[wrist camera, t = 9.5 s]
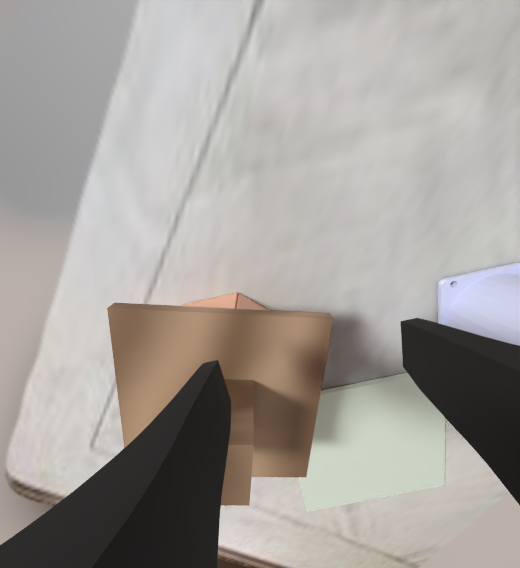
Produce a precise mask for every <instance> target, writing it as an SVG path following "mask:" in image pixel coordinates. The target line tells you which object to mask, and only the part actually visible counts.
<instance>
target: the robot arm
mask: <svg viewBox="0 0 520 568" xmlns="http://www.w3.org/2000/svg"><path fill="white" fill-rule="evenodd" d="M452 282H453V284H452V285H451V283H452ZM401 334H402V353H403V367H404V368H405V370H406V371H407V373H408V374H409V375H410V377H411V378H412V380H413V381H414V382H415V384H416V385H417V386H418V388H419V389H420V390H421V392H422V393H423V394H424V395H425V396H426V397H427V398H428V399H429V400H430V401H431V403H432V404H433V405H434V406H435V407H436V408H437V409H438V410H439V411H440V412H441V413H442V415H443V416H444V417H445V418H446V419H447V420H448V421H449V422H450V423H451V424H452V425H453V426H454V427H455V429H456V430H457V431H458V432H459V433H460V434H461V435H462V436H463V437H464V438H465V439H466V440H467V441H468V443H469V444H470V445H471V446H472V447H473V448H474V449H475V450H476V451H477V453H478V454H479V455H480V456H481V457H482V458H483V459H484V461H485V462H486V463H487V464H488V465H489V467H490V468H491V469H492V470H493V472H494V473H495V474H496V475H497V477H498V478H499V479H500V481H501V482H502V483H503V484H504V486H505V487H506V488H507V489H508V491H509V492H510V493H511V494H512V496H513V497H514V498H515V500H516V501H517V502H518V503H519V505H520V262H518V263H513V264H508V265H504V266H499V267H494V268H490V269H485V270H481V271H476V272H471V273H467V274H462V275H458V276H453V277H448V278H444V279H442V280H440V281H439V283H438V323H435V322H432V321H428V320H424V319H419V318H415V319H410V320H406V321H401ZM230 430H231V399H230V396H229V393H228V389H227V386H226V383H225V380H224V377H223V374H222V370H221V367H220V364H219V361H218V360H215V361H210V362H206V363H203V364H202V365H201V366H200V367H199V368H198V369H197V370H196V372H195V373H194V374H193V375H192V376H191V378H190V379H189V380H188V381H187V382H186V384H185V385H184V386H183V387H182V388H181V390H180V391H179V392H178V393H177V394H176V395H175V397H174V398H173V399H172V400H171V401H170V402H169V403H168V404H167V406H166V407H165V408H164V409H163V410H162V411H161V412H160V413H159V414H158V415H157V416H156V417H155V419H154V420H153V421H152V422H151V423H150V424H149V425H148V426H147V427H146V428H145V429H144V430H143V431H142V432H141V433H140V434H139V435H138V436H137V437H136V438H135V439H134V440H133V441H132V442H131V443H130V444H128V445H127V446H126V447H125V448H124V449H123V450H122V451H121V452H120V453H119V454H118V455H116V456H115V457H114V458H113V459H112V460H111V461H110V462H108V463H107V464H106V465H105V466H104V467H102V468H101V469H100V470H99V471H98V472H96V473H95V474H94V475H93V476H92V477H90V478H89V479H88V480H87V481H86V482H85V483H83V484H82V485H81V486H80V487H79V488H77V489H76V490H75V491H74V492H72V493H71V494H70V495H68V496H67V497H66V498H64V499H63V500H62V501H61V502H59V503H58V504H57V505H55V506H54V507H53V508H51V509H50V510H49V511H47V512H46V513H45V514H43V515H42V516H41V517H39V518H38V519H37V520H35V521H34V522H33V523H31V524H30V525H29V526H27V527H26V528H24V529H23V530H22V531H20V532H19V533H17V534H16V535H15V536H13V537H12V538H10V539H9V540H7V541H6V542H5V543H3V544H2V545H0V568H217V554H218V536H219V518H220V506H221V496H222V489H223V482H224V475H225V467H226V460H227V453H228V445H229V438H230Z"/></svg>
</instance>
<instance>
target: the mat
mask: <svg viewBox="0 0 520 568" xmlns="http://www.w3.org/2000/svg"><path fill="white" fill-rule="evenodd" d="M444 475H445V417H444V416H443V415H442V413H441V412H440V411H439V410H438V409H437V408H436V407H435V406H434V405H433V404H432V403H431V401H430V400H429V399H428V398H427V397H426V396H425V395H424V394H423V393H422V392H421V390H420V389H419V388H418V386H417V385H416V384H415V382H414V381H413V380H412V378H411V377H410V375H409V374H408V373H403V374H398V375H393V376H389V377H384V378H379V379H374V380H369V381H364V382H360V383H355V384H350V385H345V386H340V387H335V388H331V389H326V390H321V394H320V399H319V405H318V411H317V417H316V423H315V429H314V435H313V441H312V447H311V452H310V458H309V464H308V470H307V476H306V477H298V479H299V483H300V487H301V491H302V495H303V499H304V503H305V507H306V512H309V511H314V510H319V509H324V508H329V507H335V506H340V505H345V504H350V503H355V502H361V501H366V500H371V499H376V498H381V497H387V496H392V495H397V494H402V493H407V492H413V491H418V490H423V489H428V488H433V487H439V486H444Z"/></svg>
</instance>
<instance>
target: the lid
mask: <svg viewBox="0 0 520 568" xmlns="http://www.w3.org/2000/svg"><path fill="white" fill-rule="evenodd" d="M107 309H108V317H109V325H110V333H111V341H112V349H113V357H114V366H115V374H116V382H117V390H118V398H119V406H120V414H121V423H122V431H123V439H124V447H126V446H127V445H128V444H130V443H131V442H132V441H133V440H134V439H135V438H136V437H137V436H138V435H139V434H140V433H141V432H142V431H143V430H144V429H145V428H146V427H147V426H148V425H149V424H150V423H151V422H152V421H153V420H154V419H155V417H156V416H157V415H158V414H159V413H160V412H161V411H162V410H163V409H164V408H165V407H166V406H167V404H168V403H169V402H170V401H171V400H172V399H173V398H174V397H175V395H176V394H177V393H178V392H179V391H180V390H181V388H182V387H183V386H184V385H185V384H186V382H187V381H188V380H189V379H190V378H191V376H192V375H193V374H194V373H195V372H196V370H197V369H198V368H199V367H200V366H201V365H202V364H203V363H206V362H210V361H215V360H218V361H219V364H220V367H221V370H222V374H223V377H224V380H225V383H226V386H227V389H228V393H229V396H230V399H231V430H230V438H229V445H228V453H227V460H226V467H225V475H224V482H223V489H222V496H221V505H249V500H250V488H251V477H306V476H307V470H308V464H309V458H310V452H311V447H312V441H313V435H314V429H315V423H316V417H317V411H318V405H319V399H320V394H321V388H322V382H323V376H324V370H325V364H326V358H327V352H328V347H329V341H330V335H331V329H332V323H333V318H332V317H331V315H330V314H329V313H313V312H292V311H272V310H251V309H231V308H210V307H190V306H169V305H149V304H128V303H114V304H113V305H111V306H110V307H108V308H107Z"/></svg>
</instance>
